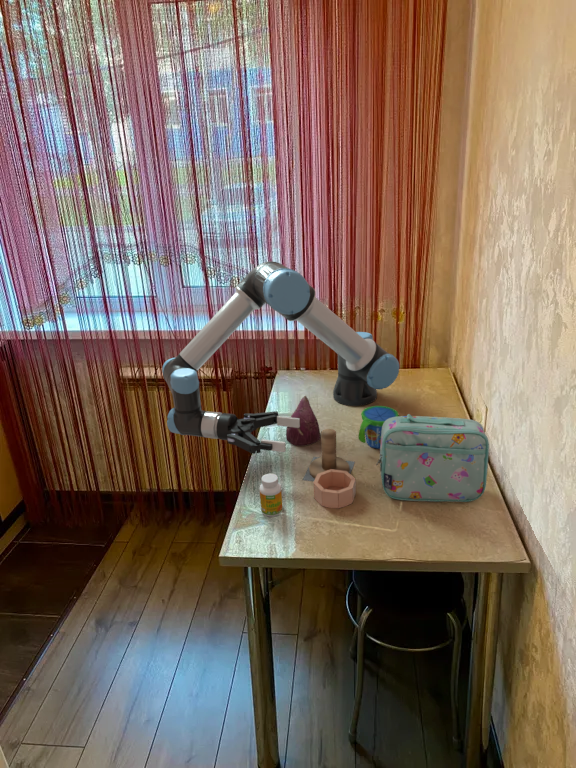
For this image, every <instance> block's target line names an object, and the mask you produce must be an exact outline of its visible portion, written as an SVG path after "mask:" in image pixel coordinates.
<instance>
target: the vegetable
mask: <svg viewBox="0 0 576 768" xmlns="http://www.w3.org/2000/svg"><path fill="white" fill-rule="evenodd" d="M290 417H292V418H300V427H299V428H295V427H286V430H285V431H286V432H285V433H286V434H285V436H286V437H285V438H286V441H287V442H288V443H289V444H290V445H292V446H296V447H297V446H298V447H299V446H300V447H302V446H303V447H306V446H310V445H313V444H315V443H317V442H318V441H320V440H321V431H320V426H319V425H320V424H319V422H318V418H317V416H316V415H315V413H314V410H313V408H312V407H311V404H310V400H309V399H308V397H307V395H304V396H303V397H302V398H301V399H300V401H299V402H298V405H297V406H296V408H295V410H294V412H292V414H291V416H290Z"/></svg>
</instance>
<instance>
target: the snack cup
mask: <svg viewBox="0 0 576 768" xmlns="http://www.w3.org/2000/svg"><path fill="white" fill-rule="evenodd" d="M360 416H361V420H362V421H361V424H360V427H359V431H358V441H360V443H363V444H364V443H365V444H367V445H368V446H369V447H370V448H374V449H378V450H380V444H381V431H382V426H383V423H384V422H385V421H386V420H387V419H389V418H392V417H398V416H400V415H399V411H398V410H396V409H394V408H392V407H389V406H385V405H372V406H368V407H366V408H364V409H363V410H362V411H361V413H360Z"/></svg>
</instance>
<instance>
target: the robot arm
mask: <svg viewBox="0 0 576 768" xmlns="http://www.w3.org/2000/svg"><path fill="white" fill-rule="evenodd" d="M265 304H266V305H268V306H269V307H270V308H271V309H273V310H274V311H276V313H278V314H280V315H281V316H282V317H283V318H284V319H286V320H287V321H288V322H295V321H297V323H299V324H300V325H301V326H303V327H304V328H306V329H307V330H308V331H309V332H310V333H312V334H313V335H314V336H315V337H316V338H317V339H319V340H320V341H321V342H323V343H324V344H325V345H326V346H327V347H329V348H330V349H331V350H333V351H334V352H335V353H336V354H337V378H336V381H335V384H334V387H333V391H332V394H333V395H332V397H333V399H334V401H335V402H337V403H339V404H342V405H345V406H352V407H359V406H366V405H369V404H371V403H373V402H375V401H376V399H377V394H378V393H377V390H383V389H387V388H388V387H390V386H391V385H393V383H394V382H395V381H396V379H397V378H398V376H399V372H400V363H399V360H398V358H396V357H395V356H394V355H393V354H392V353H389V352H388V351H386V349H384V348H382V347H381V346H380V345H379V344H378V343H377V342H376V341H374V338H373V334H372V333H369V332H366V331H356V330H354V329H353V327H350V325H348V324H347V322H345V321H344V320H343V319H342V318H340V316H338V315H337V314H336V313H334V311H332V310H331V309H330V308H328V306H327V305H325V304H324V303H323V302H322V301H321V300H319V299H318V298H317V297H316V289H315V288H314V287H313V286H312V285H310V284H309V283H308V281H307V280H306V279H305V277H304V276H303V275H302V274H301V273H300V272H298V271H296V270H294V269H292V268H289V267H288V266H285V265H283V264H282V263H280V262H277V261H273V260H272V261H264V262H262V263H259V264H258V265H257V266H255V267H254V268H253V269H251V271H250V272H249V273H248V274H246V275H245V277H244V278H243V279H242V280H241V281H240V282H239V283H238V284H237V285H236V286H235V293H234V294H233V295H231V297H230V298H229V299H228V300H227V301H226V302H225V303H224V304H223V305H222V307H221V308H220V309H219V310H218V311H217V312H216V313H215V314H214V316H213V317H212V318H210V319H209V321H208V322H207V323H206V324H205V325H204V326H203V327H202V328H201V330H199V332H198V333H197V334H196V335H195V336H193V338H192V339H191V340H190V342H189V343H188V344H187V345H186V346H185V347H184V348H183V349H182V350H181V351H180V352H179V353H178V354H177V355H176V356H175V357H172V358H169V359H167V360H166V361H164V363H163V365H162V369H161V370H162V371H161V373H162V375H163V379H164V381H165V382H166V384H167V386H168V388H169V391H170V392H171V394H172V400H173V408H171V409H170V410H169V412H168V414H167V416H166V417H167V421H166V425H167V429H168V430H169V432H170V433H173V434H177V435H178V434H179V435H181V436H190V437H191V436H192V437H201V438H208V439H209V438H210V439H219V440H222V441H227V443H228V444H229V445H234V446H237V447H238V448H240V449H242V450H244V451H246V452H248V453H250V454H252V455H253V454H256V453H257V454H260V453H261V452H262V451H261V450H263V451H272V452H281V453H286V450H287V449H286V442H285V441H281V440H280V441H279V440H271V439H263V438H261V440H260V439H258V438H257V437H255V436H254V435H253V434H252V432H254V431H257V429H261V428H263V427H267V426H274V425H276V424H277V425H276V426H279V427H286V428H287V427H295V428H299V427H300V418H292V417H291V416H283V415H281V416H280V415H279V412H278V411H277V410H275V411H267V412H257V413H244V414H243V418H238V417H237V416H236V414H235V413H227V412H223V413H222V412H220V411H219V412H217V411H208V410H202V404H201V394H200V381H199V378H198V377H199V376H198V371H199V370H200V369H201V367H202V366H204V364H205V363H206V362H207V361H208V360H209V359H210V358H212V356H213V355H214V354H215V352H217V350H219V348H220V347H221V346H222V345H223V344H224V343H225V342H226V341H227V340H228V339H229V337H231V335H233V333H234V332H235V331H236V330H237V329H238V328H239V327H240V326H241V325H242V323H244V322H245V320H246V319H247V318H248V317H249V316H250V315H251V314H252V313H253V312H254V311H255V310H260V309H261V308H262V307H263V306H264V305H265Z"/></svg>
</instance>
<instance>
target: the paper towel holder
mask: <svg viewBox="0 0 576 768" xmlns="http://www.w3.org/2000/svg"><path fill="white" fill-rule="evenodd" d="M320 443H321V445H320V447H321V448H320V449H321V450H320V451H321V456H319V457H320V458H317V459H315V460H313V461H312V460H311V461H312V462H310V463H309V465H308V467H309V472H310V475H311V476H312V477H313V478H316V476H317V474H318V473H321V472H324V471H327V470H330V469H334V470H342V471H347V472H348V473H349V464H348V463H347V462H346V461H347V460H346V459H344V458H341V457H338V456H337V431H336V430H334V429H332V428H326V429H325V428H324V429H322V430H321V431H320Z"/></svg>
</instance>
